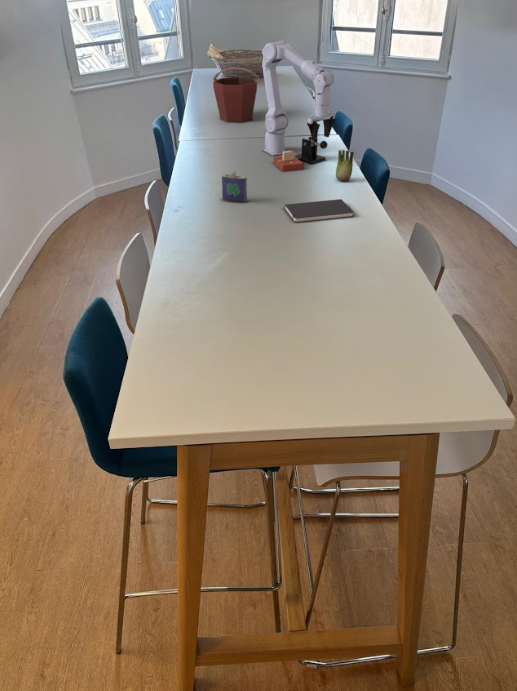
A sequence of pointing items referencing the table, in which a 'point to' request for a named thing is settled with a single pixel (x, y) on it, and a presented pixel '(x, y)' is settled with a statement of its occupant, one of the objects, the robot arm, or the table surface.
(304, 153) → the black lever mount
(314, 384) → the table surface
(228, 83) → the bucket
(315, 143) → the lever
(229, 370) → the table surface
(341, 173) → the fennel bulb
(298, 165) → the dial panel
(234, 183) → the flask
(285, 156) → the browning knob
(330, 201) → the notebook
